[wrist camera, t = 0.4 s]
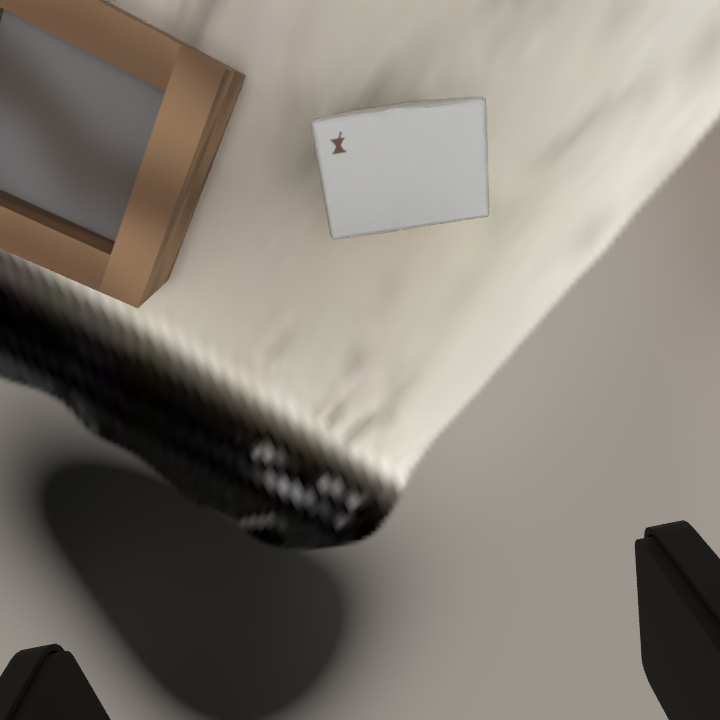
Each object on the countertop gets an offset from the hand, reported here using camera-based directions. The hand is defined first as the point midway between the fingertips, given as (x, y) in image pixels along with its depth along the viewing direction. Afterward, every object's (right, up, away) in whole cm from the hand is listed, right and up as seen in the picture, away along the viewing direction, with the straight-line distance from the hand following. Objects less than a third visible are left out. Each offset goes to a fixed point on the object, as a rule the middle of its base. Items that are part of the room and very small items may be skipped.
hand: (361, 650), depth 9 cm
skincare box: (+1, +16, +22) cm, 27 cm away
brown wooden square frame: (-14, +17, +21) cm, 30 cm away
